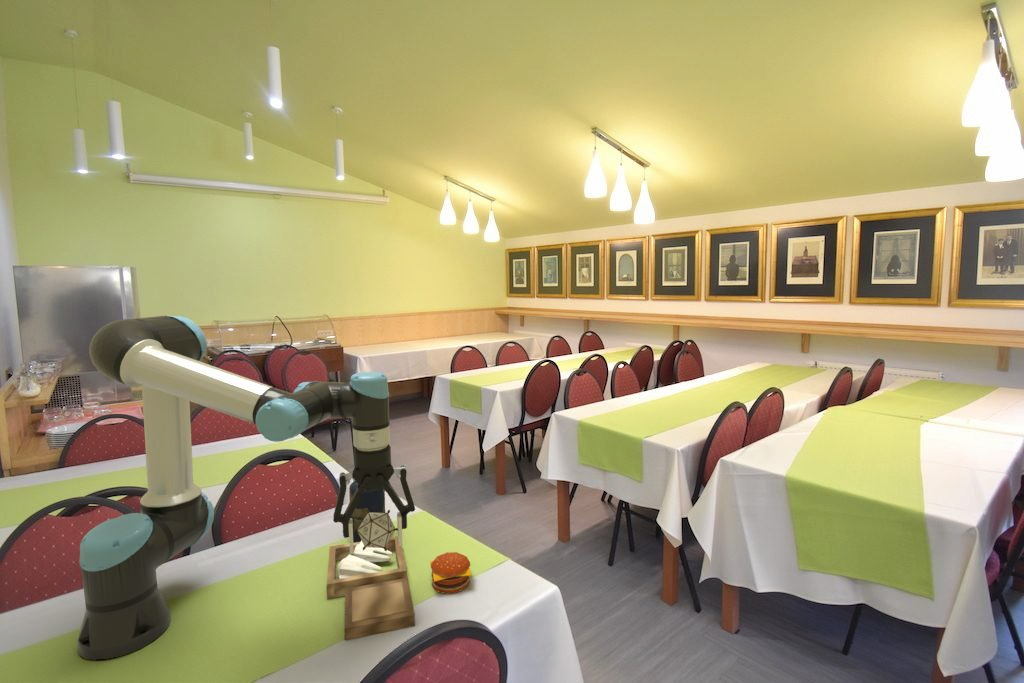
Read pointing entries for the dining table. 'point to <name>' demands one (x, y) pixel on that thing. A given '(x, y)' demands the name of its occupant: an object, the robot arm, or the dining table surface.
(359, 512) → the canister
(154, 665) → the dining table surface
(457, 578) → the hamburger
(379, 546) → the game die
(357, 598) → the walnut board
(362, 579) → the oak frame
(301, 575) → the dining table surface
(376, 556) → the white folded napkins
